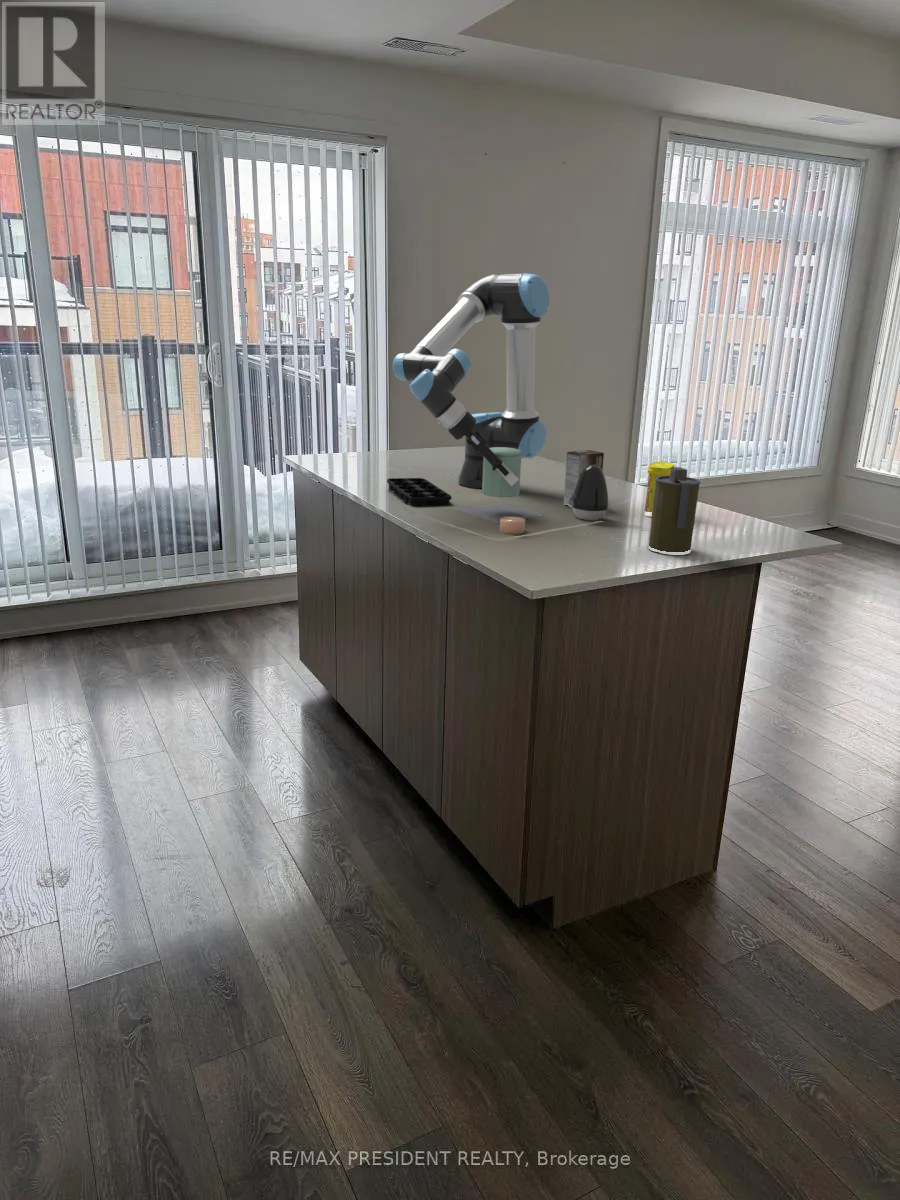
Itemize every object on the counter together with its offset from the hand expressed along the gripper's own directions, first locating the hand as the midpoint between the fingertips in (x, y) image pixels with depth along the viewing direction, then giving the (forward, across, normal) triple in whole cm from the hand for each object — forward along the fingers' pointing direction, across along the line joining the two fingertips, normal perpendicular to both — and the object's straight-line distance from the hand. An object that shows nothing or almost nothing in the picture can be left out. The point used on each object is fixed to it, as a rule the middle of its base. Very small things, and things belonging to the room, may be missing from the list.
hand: (512, 478), depth 231 cm
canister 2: (+31, +35, +17) cm, 50 cm away
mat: (+5, 0, -9) cm, 11 cm away
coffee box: (+24, -13, +9) cm, 29 cm away
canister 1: (+38, -3, +23) cm, 45 cm away
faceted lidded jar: (+1, 0, -5) cm, 5 cm away
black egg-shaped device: (+23, +4, +8) cm, 24 cm away
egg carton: (-10, -21, -26) cm, 35 cm away
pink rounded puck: (+5, +20, -9) cm, 23 cm away
